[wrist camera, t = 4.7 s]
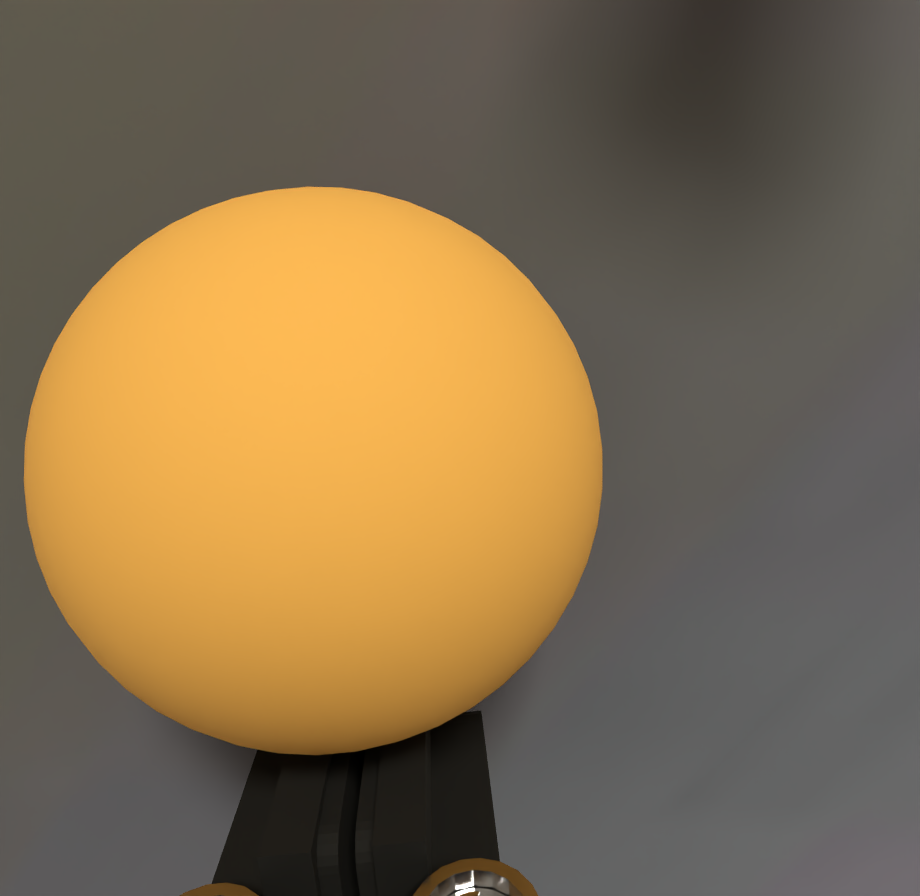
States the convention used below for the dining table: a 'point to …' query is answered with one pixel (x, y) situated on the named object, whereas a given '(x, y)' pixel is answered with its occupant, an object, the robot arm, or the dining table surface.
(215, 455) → the ball
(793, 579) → the dining table surface
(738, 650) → the dining table surface
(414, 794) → the robot arm
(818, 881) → the dining table surface
